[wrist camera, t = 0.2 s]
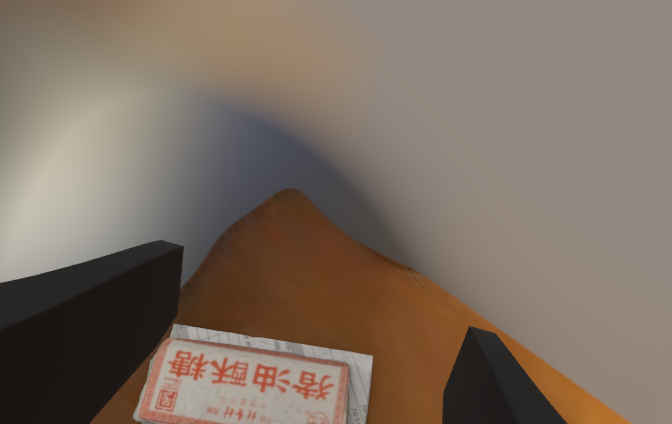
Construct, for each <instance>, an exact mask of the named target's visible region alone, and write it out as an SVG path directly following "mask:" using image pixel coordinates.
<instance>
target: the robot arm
mask: <svg viewBox="0 0 672 424" xmlns="http://www.w3.org/2000/svg"><path fill="white" fill-rule="evenodd" d="M183 250H184V247H183V246H180V245H177V244H173V243H169V242H166V241H163V240H159V241H154V242H150V243H147V244H143V245H139V246H136V247H133V248H129V249H126V250H123V251H120V252H117V253H113V254H110V255H106V256H104V257H100V258H97V259H93V260H90V261H87V262H83V263H80V264H76V265H72V266H69V267H65V268H61V269H58V270H54V271H50V272H46V273H42V274H39V275H35V276H31V277H26V278H22V279H17V280H12V281H8V282H3V283H0V424H89V423H90V422H91V421H92V420H93V418H94V417H95V416H96V415H97V414H98V413H99V412H100V410H101V409H102V408H103V407H104V406H105V405H106V404H107V402H108V401H109V400H110V399H111V398H112V397H113V396H114V394H115V393H116V392H117V391H118V390H119V389H120V388H121V387H122V385H123V384H124V383H125V382H126V381H127V380H128V379H129V377H130V376H131V375H132V374H133V373H134V372H135V371H136V369H137V368H138V367H139V366H140V365H141V364H142V363H143V361H144V360H145V359H146V358H147V357H148V356H149V354H150V353H151V352H152V351H153V350H154V348H155V347H156V346H157V345H158V343H159V342H160V340H161V339H162V337H163V336H164V334H165V333H166V331H167V330H168V328H169V327H170V325H171V323H172V322H173V320H174V319H175V317H176V316H177V314H178V303H179V293H180V282H181V272H182V260H183ZM442 424H567V422H566V421H565V420H564V419H563V418H562V417H561V416H560V415H559V413H558V412H557V411H556V410H555V409H554V407H553V406H552V405H551V404H550V403H549V401H548V400H547V399H546V398H545V396H544V395H543V394H542V393H541V391H540V390H539V389H538V388H537V386H536V385H535V384H534V383H533V381H532V380H531V379H530V377H529V376H528V375H527V373H526V372H525V371H524V370H523V368H522V367H521V366H520V364H519V363H518V362H517V360H516V359H515V358H514V356H513V355H512V354H511V352H510V351H509V350H508V349H507V347H506V346H505V345H504V343H503V342H502V341H501V340H500V338H499V337H498V336H497V335H496V334H495V333H492V332H489V331H485V330H482V329H478V328H474V327H471V326H469V329H468V331H467V334H466V336H465V339H464V341H463V344H462V346H461V349H460V351H459V354H458V356H457V359H456V362H455V364H454V367H453V369H452V372H451V374H450V377H449V379H448V382H447V384H446V387H445V390H444V394H443V418H442Z"/></svg>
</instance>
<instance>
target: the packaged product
mask: <svg viewBox="0 0 672 424" xmlns="http://www.w3.org/2000/svg"><path fill="white" fill-rule="evenodd" d="M372 360H373V356H371V355H365V354H359V353H354V352H349V351H342V350H336V349H329V348H323V347H317V346H311V345H305V344H298V343H292V342H285V341H278V340H274V339H267V338H258V337H257V338H252V337H250V336H247V335H240V334H235V333H230V332H222V331H214V330H209V329H203V328H197V327H191V326H186V325H179V324H174V325H173V329H172V332H171V335H170V338H168V339H166V340H165V341H164V342H163V343H162V344H161V346H160V347H159V348H158V351H157V353H156V354H155V355H154V358H153V359H152V360H151V361H150V366H149V372H148V377H147V382H146V383H145V385H144V388H143V390H142V393H141V394H140V401H139V404H138V406H137V408H136V410H135V412H134V414H133V419H135V420H136V422H141V423H142V424H366V420H367V413H368V404H369V396H370V388H371V375H372Z"/></svg>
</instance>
